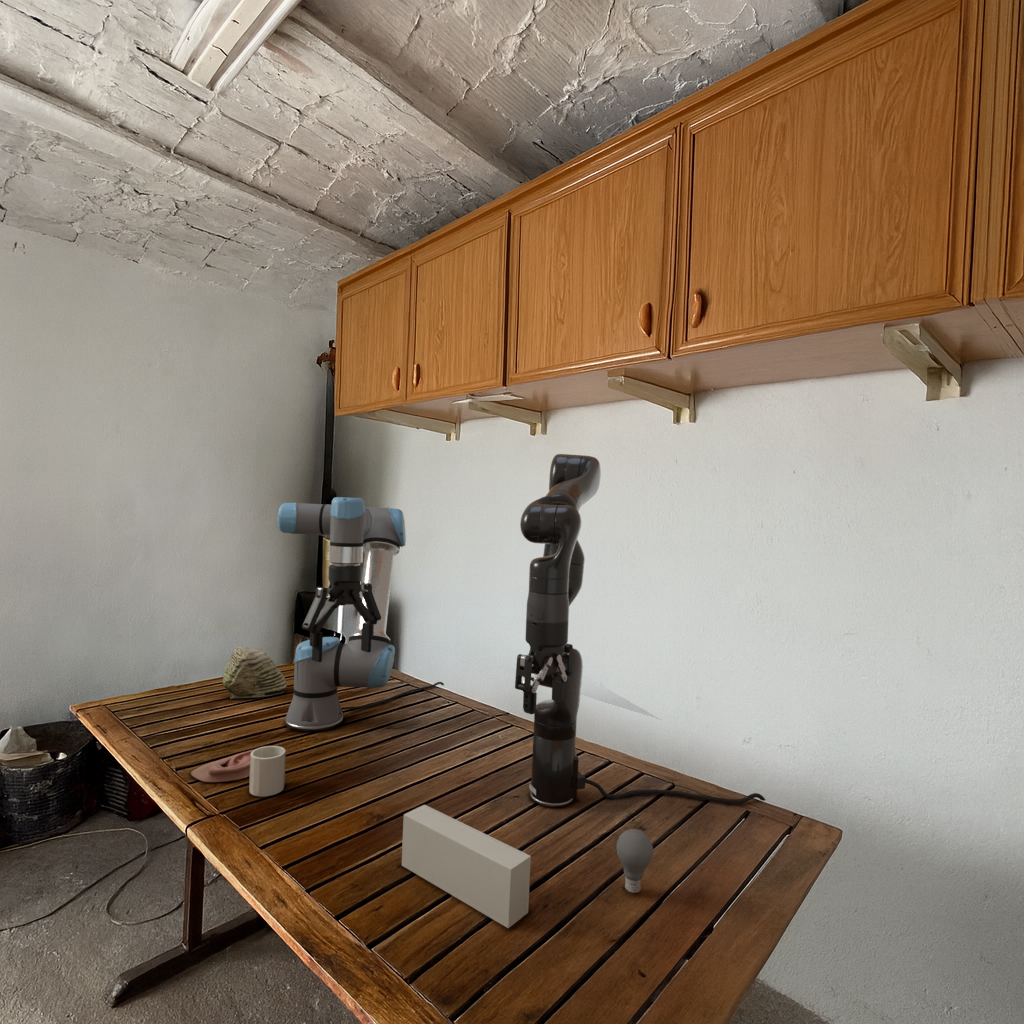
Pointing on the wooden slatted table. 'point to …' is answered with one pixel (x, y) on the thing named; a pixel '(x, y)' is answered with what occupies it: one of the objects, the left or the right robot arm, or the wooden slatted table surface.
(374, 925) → the wooden slatted table surface
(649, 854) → the light bulb
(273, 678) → the fossil
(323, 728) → the left robot arm
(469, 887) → the grey bar
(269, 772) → the white cup
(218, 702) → the wooden slatted table surface
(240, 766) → the anatomical model
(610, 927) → the wooden slatted table surface
